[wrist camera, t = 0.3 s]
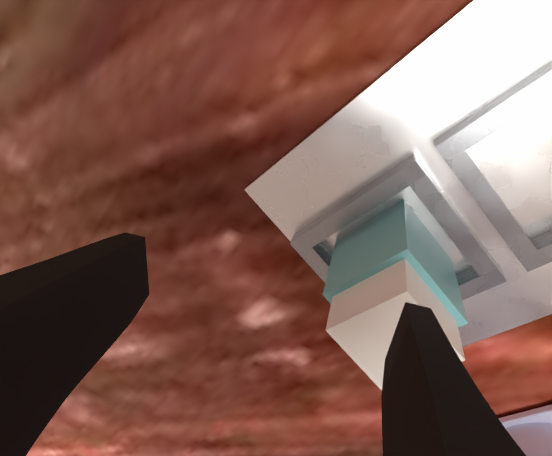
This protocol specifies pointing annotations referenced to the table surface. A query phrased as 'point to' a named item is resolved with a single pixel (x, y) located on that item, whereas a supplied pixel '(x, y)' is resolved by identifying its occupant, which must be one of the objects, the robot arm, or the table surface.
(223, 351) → the table surface
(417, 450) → the robot arm
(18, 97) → the table surface
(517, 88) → the panel
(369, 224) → the plug
